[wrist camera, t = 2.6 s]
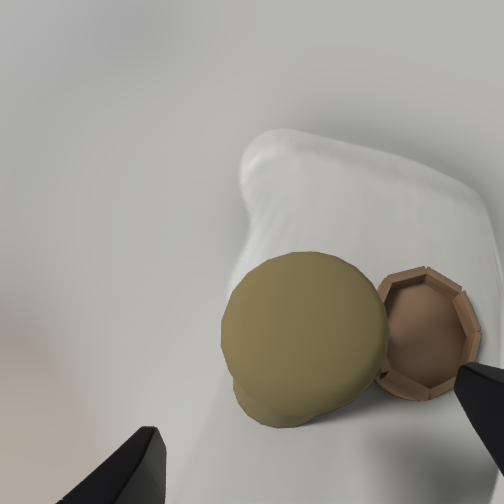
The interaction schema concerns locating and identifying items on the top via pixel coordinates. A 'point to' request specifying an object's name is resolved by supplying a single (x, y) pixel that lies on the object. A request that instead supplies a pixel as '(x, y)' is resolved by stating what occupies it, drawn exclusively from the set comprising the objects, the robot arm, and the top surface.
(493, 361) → the top surface
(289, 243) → the top surface
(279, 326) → the cork
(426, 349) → the walnut stand
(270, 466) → the top surface
